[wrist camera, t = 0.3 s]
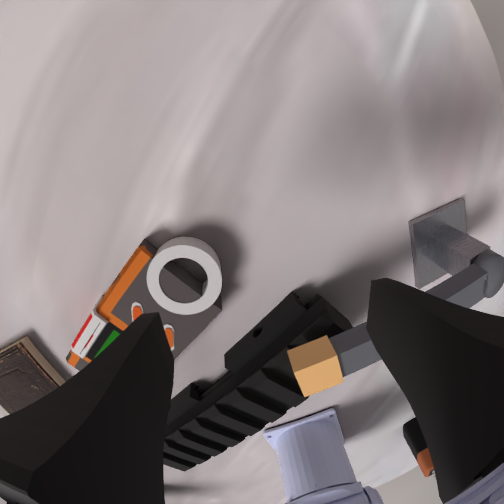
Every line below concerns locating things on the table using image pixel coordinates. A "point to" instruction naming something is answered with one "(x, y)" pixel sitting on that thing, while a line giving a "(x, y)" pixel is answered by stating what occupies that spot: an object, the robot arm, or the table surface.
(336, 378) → the bar
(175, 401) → the rail mount
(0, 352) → the hardcover book
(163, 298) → the electronic device
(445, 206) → the pivot post
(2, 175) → the table surface
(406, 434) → the battery
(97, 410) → the robot arm
